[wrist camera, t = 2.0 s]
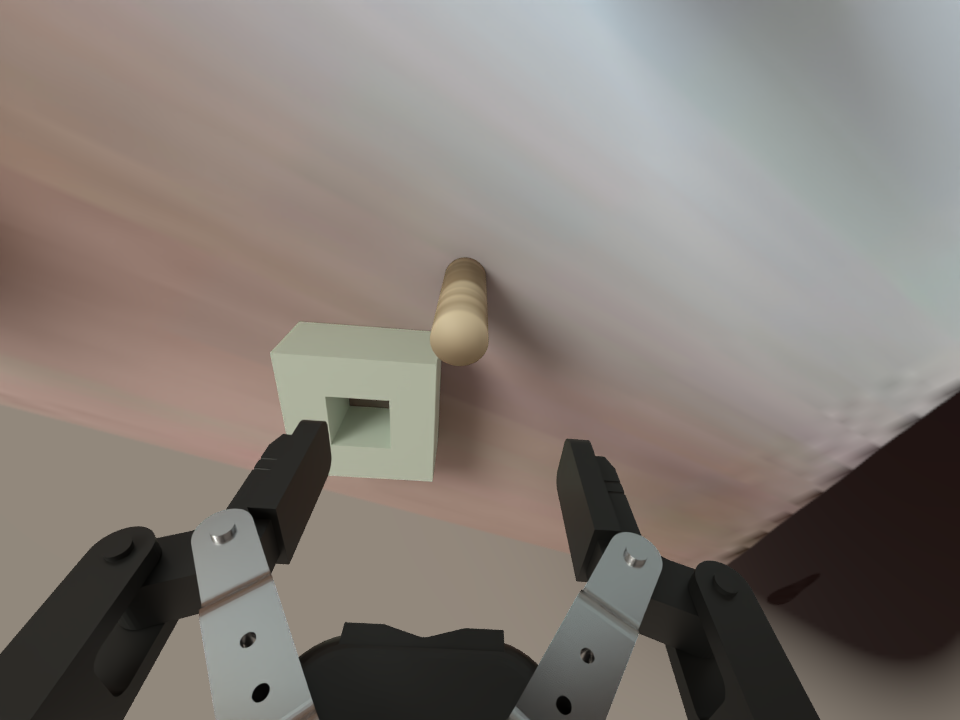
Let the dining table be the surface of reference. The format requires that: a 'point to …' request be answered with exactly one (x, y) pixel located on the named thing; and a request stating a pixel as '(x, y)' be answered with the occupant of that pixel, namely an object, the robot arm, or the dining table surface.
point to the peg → (461, 314)
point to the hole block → (364, 396)
